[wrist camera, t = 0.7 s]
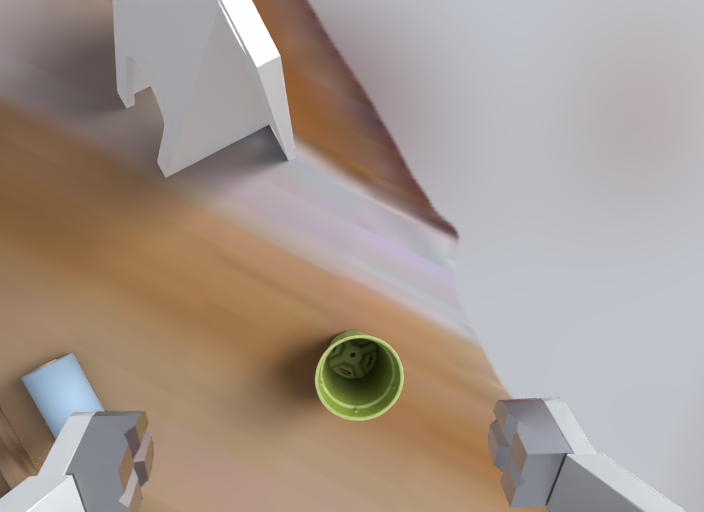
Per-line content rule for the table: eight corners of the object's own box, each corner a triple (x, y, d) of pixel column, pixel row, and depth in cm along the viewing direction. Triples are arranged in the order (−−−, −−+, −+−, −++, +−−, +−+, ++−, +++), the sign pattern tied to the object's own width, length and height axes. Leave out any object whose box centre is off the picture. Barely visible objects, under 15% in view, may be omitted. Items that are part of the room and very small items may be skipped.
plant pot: (373, 401, 63) (384, 432, 54) (302, 377, 61) (302, 405, 53) (401, 332, 62) (416, 352, 53) (329, 306, 61) (334, 322, 52)
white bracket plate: (95, 53, 56) (-422, -325, 16) (211, -5, 56) (-12, -511, 17) (186, 214, 58) (-64, 231, 19) (296, 157, 59) (280, 55, 19)
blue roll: (117, 416, 60) (99, 436, 55) (75, 435, 60) (52, 458, 54) (80, 346, 59) (57, 360, 53) (36, 366, 58) (9, 382, 53)
